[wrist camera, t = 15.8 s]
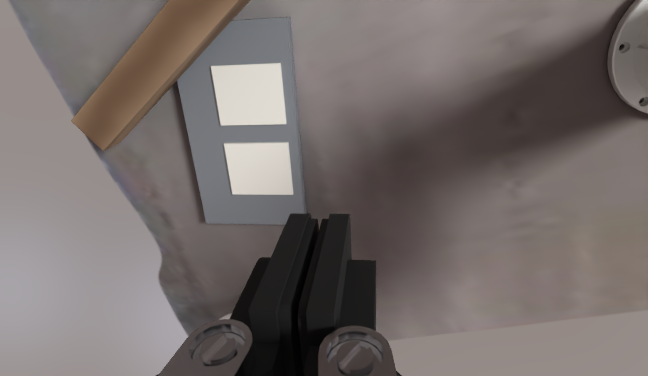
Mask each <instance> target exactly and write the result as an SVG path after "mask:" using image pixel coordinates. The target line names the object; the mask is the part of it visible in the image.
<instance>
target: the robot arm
mask: <svg viewBox="0 0 648 376" xmlns="http://www.w3.org/2000/svg"><path fill="white" fill-rule="evenodd" d="M620 45H622V47H621V48H620V49H619V47H620ZM607 66H608V73H609V78H610V81H611V83H612V86H613V88H614V90H615V91H616V93H617V94H618V95H619V97H620V98H621V99H622V100H623V101H625V102H626V103H627V104H628V105H629V106H631V107H633V108H635V109H637V110H639V111H642V112H644V113H647V114H648V0H635V1H634V2H633V4H632V5H631V6H630V7H629V8H628V10H627V11H626V13H625V14H624V15H623V17H622V18H621V20H620V21H619V23H618V25H617V28H616V30H615V32H614V34H613V36H612V39H611V43H610V47H609V50H608V62H607ZM640 99H641V101H640ZM156 376H401V375H400V374H399V373H398V372H397V371H396V369H395V364H394V360H393V355H392V351H391V348H390V346H389V343H388V341H387V340H386V339H385V338H384V337H383V336H382V335H381V334H379V333H378V332H376V261H371V260H352V258H351V228H350V214H330V216H329V219H322V222H321V226H320V230H319V227H318V220H317V219H311V215H310V214H301V213H291V214H290V215H289V218H288V220H287V222H286V224H285V227H284V229H283V231H282V234H281V236H280V238H279V240H278V243H277V245H276V247H275V250H274V252H273V254H272V257H271V258H265V257H261V258H259V260H258V261H257V263H256V265H255V267H254V269H253V271H252V273H251V275H250V277H249V279H248V281H247V284H246V286H245V288H244V290H243V292H242V294H241V296H240V298H239V300H238V302H237V304H236V306H235V308H234V310H233V312H232V315H231V317H230V319H222V320H216V321H212V322H210V323H207V324H205V325H203V326H201V327H200V328H198V329H197V330H195V331H194V332H193V333H192V334H191V335H190V336H189V337H188V338H187V339H186V340H185V342H184V343H183V344H182V346H181V347H180V348H179V349H178V351H177V352H176V353H175V355H174V356H173V357H172V358H171V360H170V361H169V362H168V364H167V365H166V366H165V367H164V369H163V370H162V371H161V373H160V374H158V375H156Z"/></svg>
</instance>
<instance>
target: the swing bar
mask: <svg viewBox="0 0 648 376" xmlns="http://www.w3.org/2000/svg"><path fill="white" fill-rule="evenodd" d="M249 1H250V0H169V1H168V2H167V3H166V4H165V6H164V7H163V8H162V9H161V11H160V12H159V13H158V14H157V16H156V17H155V18H154V19H153V20H152V22H151V23H150V24H149V25H148V27H147V28H146V29H145V30H144V32H143V33H142V34H141V35H140V37H139V38H138V39H137V40H136V41H135V43H134V44H133V45H132V46H131V48H130V49H129V50H128V51H127V53H126V54H125V55H124V56H123V57H122V59H121V60H120V61H119V62H118V64H117V65H116V66H115V67H114V69H113V70H112V71H111V72H110V74H109V75H108V76H107V77H106V78H105V80H104V81H103V82H102V83H101V85H100V86H99V87H98V88H97V90H96V91H95V92H94V93H93V94H92V96H91V97H90V98H89V99H88V101H87V102H86V103H85V104H84V106H83V107H82V108H81V109H80V111H79V112H78V113H77V114H76V115H75V117H74V118H73V119H72V120H71V121H72V122H73V123H74V124H75V125H76V126H77V127H78V128H79V129H80V130H81V131H82V132H83V133H84V134H85V135H87V136H88V137H89V138H90V139H91V140H92V141H93V142H94V143H95V144H96V145H97V146H98V147H99V148H100V149H102V150H103V151H104V150H106V149H108V148H110V147H112V146H114V145H116V144H118V143H119V142H121V141H122V140H123V139H124V138H125V137H126V136H127V135H128V133H129V132H130V131H131V130H132V129H133V128H134V127H135V126H136V125H137V124H138V122H139V121H140V120H141V119H142V118H143V117H144V116H145V115H146V114H147V113H148V112H149V110H150V109H151V108H152V107H153V106H154V105H155V104H156V103H157V102H158V101H159V99H160V98H161V97H162V96H163V95H164V94H165V93H166V92H167V91H168V90H169V89H170V87H171V86H172V85H173V84H174V83H175V82H176V81H177V80H178V79H179V78H180V76H181V75H182V74H183V73H184V72H185V71H186V70H187V69H188V68H189V67H190V66H191V64H192V63H193V62H194V61H195V60H196V59H197V58H198V57H199V56H200V55H201V53H202V52H203V51H204V50H205V49H206V48H207V47H208V46H209V45H210V44H211V43H212V41H213V40H214V39H215V38H216V37H217V36H218V35H219V34H220V33H221V32H222V30H223V29H224V28H225V27H226V26H227V25H228V24H229V23H230V22H231V21H232V20H233V18H234V17H235V16H236V15H237V14H238V13H239V12H240V11H241V10H242V9H243V7H244V6H245V5H246V4H247V3H248V2H249Z"/></svg>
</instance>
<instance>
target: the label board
mask: <svg viewBox="0 0 648 376" xmlns="http://www.w3.org/2000/svg"><path fill="white" fill-rule="evenodd" d="M177 83H178V88H179V93H180V98H181V103H182V108H183V112H184V117H185V122H186V127H187V132H188V137H189V142H190V147H191V151H192V156H193V161H194V166H195V171H196V176H197V181H198V186H199V190H200V195H201V200H202V205H203V210H204V215H205V220H206V223H211V224H274V225H285V224H286V222H287V220H288V218H289V215H290V214H291V213H301V214H307V211H306V199H305V187H304V175H303V163H302V151H301V140H300V128H299V116H298V104H297V92H296V80H295V68H294V57H293V45H292V33H291V21H290V17H282V18H265V19H248V20H232V21H231V22H230V23H229V24H228V25H227V26H226V27H225V28H224V29H223V30H222V32H221V33H220V34H219V35H218V36H217V37H216V38H215V39H214V40H213V41H212V43H211V44H210V45H209V46H208V47H207V48H206V49H205V50H204V51H203V52H202V53H201V55H200V56H199V57H198V58H197V59H196V60H195V61H194V62H193V63H192V64H191V66H190V67H189V68H188V69H187V70H186V71H185V72H184V73H183V74H182V75H181V76H180V78H179V79H178V80H177Z"/></svg>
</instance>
